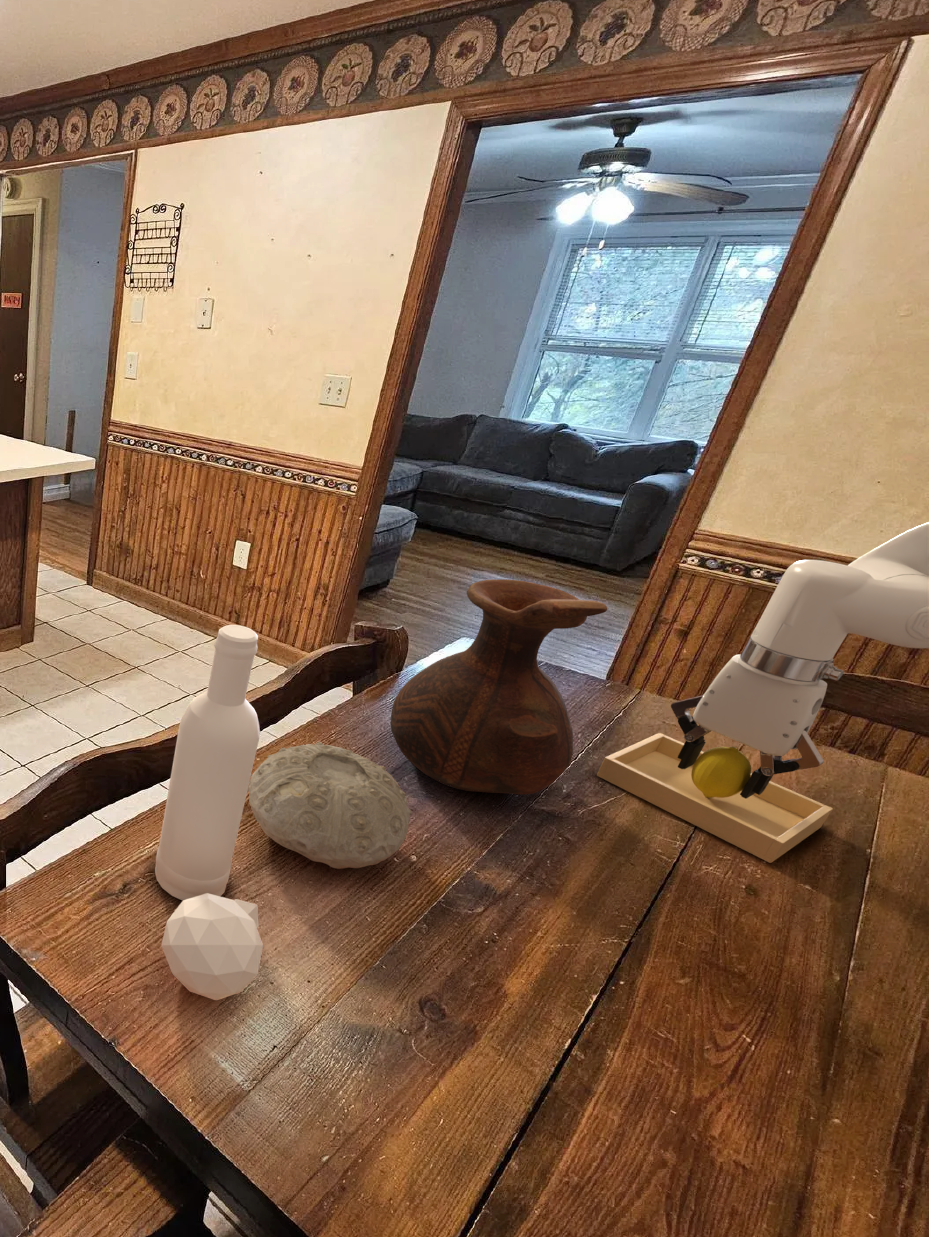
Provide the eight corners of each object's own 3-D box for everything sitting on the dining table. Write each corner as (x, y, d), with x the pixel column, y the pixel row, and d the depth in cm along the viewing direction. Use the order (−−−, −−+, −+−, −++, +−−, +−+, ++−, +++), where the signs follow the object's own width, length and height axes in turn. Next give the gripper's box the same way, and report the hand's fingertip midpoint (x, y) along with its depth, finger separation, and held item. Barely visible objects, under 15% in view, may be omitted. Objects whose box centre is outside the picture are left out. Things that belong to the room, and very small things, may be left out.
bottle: (162, 845, 87) (203, 608, 74) (231, 865, 84) (285, 624, 71) (146, 891, 80) (188, 639, 67) (220, 914, 78) (279, 657, 64)
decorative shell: (347, 913, 79) (371, 839, 74) (212, 823, 91) (226, 755, 86) (424, 846, 89) (449, 777, 85) (294, 774, 101) (310, 710, 97)
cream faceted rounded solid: (236, 1036, 63) (292, 965, 72) (230, 935, 61) (288, 876, 70) (147, 1000, 69) (209, 939, 77) (140, 908, 67) (204, 857, 76)
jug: (350, 760, 105) (409, 559, 92) (416, 713, 118) (476, 531, 105) (519, 843, 91) (618, 618, 77) (573, 779, 104) (665, 577, 91)
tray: (820, 827, 97) (833, 808, 96) (770, 863, 90) (783, 843, 89) (650, 749, 112) (659, 732, 111) (596, 775, 105) (604, 757, 104)
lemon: (694, 805, 99) (722, 755, 95) (673, 781, 104) (698, 732, 100) (742, 813, 98) (772, 763, 94) (718, 789, 103) (746, 740, 99)
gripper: (890, 686, 87) (810, 810, 95) (712, 628, 100) (655, 741, 108) (866, 699, 83) (786, 826, 91) (686, 637, 97) (629, 753, 105)
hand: (716, 779), depth 100 cm, fingers open, 6 cm apart
